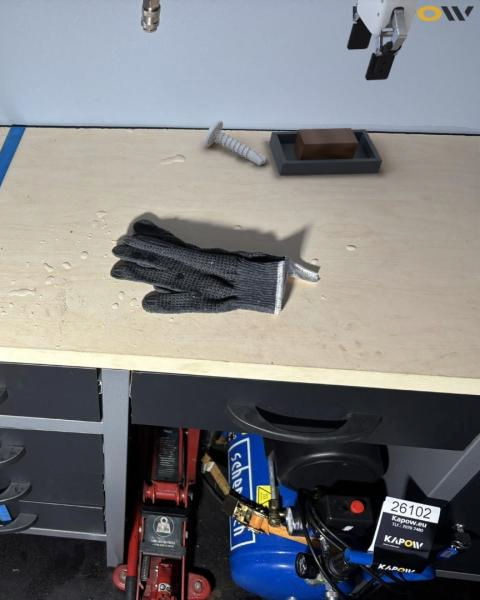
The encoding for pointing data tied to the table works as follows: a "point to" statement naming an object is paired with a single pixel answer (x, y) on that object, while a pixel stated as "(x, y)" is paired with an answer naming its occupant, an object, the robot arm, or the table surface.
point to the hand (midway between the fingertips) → (366, 63)
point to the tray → (288, 163)
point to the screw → (232, 144)
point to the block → (325, 144)
